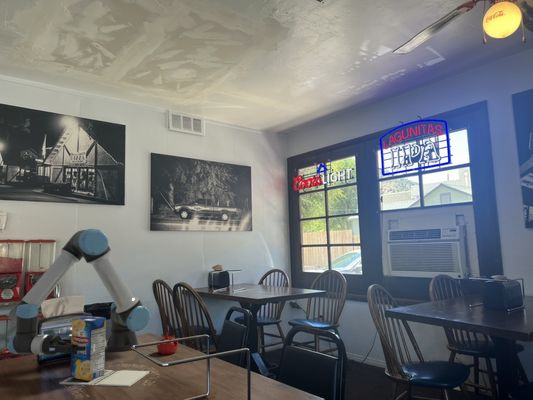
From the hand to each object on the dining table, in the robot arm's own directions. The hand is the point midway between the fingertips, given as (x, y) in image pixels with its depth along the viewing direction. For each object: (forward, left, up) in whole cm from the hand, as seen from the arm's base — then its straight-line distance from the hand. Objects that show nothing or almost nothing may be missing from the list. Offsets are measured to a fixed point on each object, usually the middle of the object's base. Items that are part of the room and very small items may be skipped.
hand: (99, 345), depth 154 cm
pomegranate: (-37, +12, -12) cm, 41 cm away
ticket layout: (0, +3, -12) cm, 12 cm away
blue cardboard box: (0, -5, -12) cm, 13 cm away
